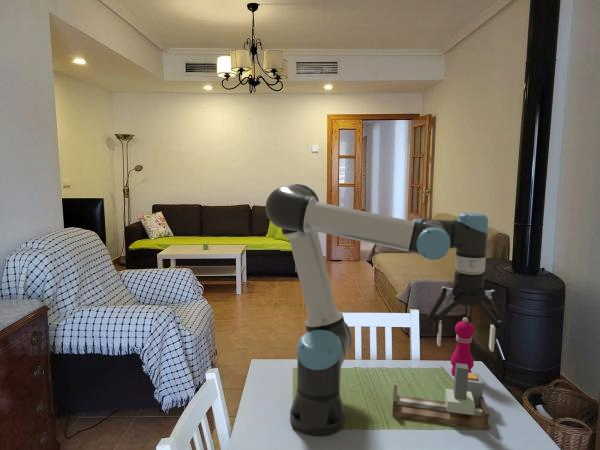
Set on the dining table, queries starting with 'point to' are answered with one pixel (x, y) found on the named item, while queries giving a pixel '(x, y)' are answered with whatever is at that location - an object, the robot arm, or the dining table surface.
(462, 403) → the carriage
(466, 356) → the pepper mill
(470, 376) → the button
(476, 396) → the orange button box
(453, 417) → the rail board
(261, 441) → the dining table surface
